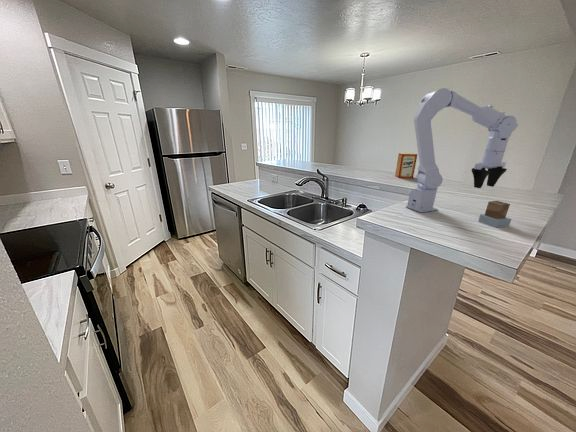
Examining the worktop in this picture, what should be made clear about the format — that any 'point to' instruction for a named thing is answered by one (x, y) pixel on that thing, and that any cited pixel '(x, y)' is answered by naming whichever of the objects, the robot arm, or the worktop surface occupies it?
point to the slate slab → (494, 221)
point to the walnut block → (497, 209)
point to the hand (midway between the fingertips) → (483, 186)
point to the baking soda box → (406, 165)
